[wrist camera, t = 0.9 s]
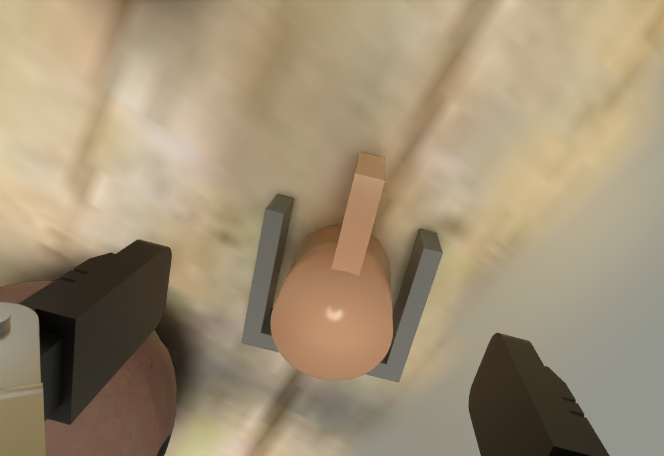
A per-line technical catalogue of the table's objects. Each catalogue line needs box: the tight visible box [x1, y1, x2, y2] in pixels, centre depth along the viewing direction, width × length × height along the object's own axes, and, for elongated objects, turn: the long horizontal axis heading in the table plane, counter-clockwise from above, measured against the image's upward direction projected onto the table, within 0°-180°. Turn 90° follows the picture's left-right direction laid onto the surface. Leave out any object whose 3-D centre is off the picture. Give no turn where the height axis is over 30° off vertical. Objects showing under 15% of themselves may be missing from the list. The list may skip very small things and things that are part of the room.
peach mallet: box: [270, 152, 393, 381], centre depth 29 cm, size 12×7×8 cm, turn 167°
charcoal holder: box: [242, 194, 443, 382], centre depth 32 cm, size 10×11×4 cm
